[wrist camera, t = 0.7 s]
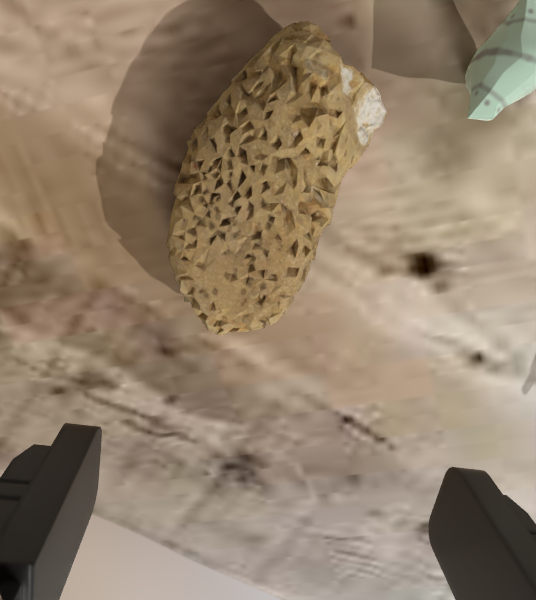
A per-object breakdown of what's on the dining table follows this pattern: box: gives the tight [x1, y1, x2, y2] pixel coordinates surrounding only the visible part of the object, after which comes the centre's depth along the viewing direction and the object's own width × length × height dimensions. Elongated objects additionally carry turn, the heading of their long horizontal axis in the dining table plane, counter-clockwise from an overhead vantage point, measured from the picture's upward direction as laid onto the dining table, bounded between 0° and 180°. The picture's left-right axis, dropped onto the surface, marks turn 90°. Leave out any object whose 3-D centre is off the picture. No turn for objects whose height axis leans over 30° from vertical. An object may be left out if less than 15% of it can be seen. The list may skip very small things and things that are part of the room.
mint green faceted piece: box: [465, 0, 536, 121], centre depth 33 cm, size 8×4×7 cm, turn 159°
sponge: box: [166, 21, 386, 335], centre depth 34 cm, size 13×8×20 cm
